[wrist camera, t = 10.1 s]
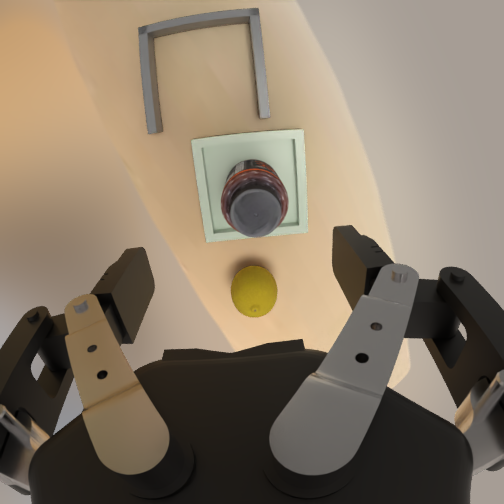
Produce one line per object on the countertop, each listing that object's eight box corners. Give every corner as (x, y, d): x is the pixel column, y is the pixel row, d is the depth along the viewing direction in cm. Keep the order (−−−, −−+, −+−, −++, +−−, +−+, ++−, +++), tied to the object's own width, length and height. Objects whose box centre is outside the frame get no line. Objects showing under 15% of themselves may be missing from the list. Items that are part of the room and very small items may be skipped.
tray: (194, 138, 31) (190, 140, 29) (300, 128, 30) (303, 129, 29) (208, 235, 36) (206, 242, 34) (304, 226, 36) (308, 232, 34)
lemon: (255, 247, 37) (258, 280, 29) (282, 275, 39) (290, 311, 31) (223, 272, 38) (219, 309, 31) (250, 298, 40) (252, 337, 33)
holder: (145, 33, 24) (138, 27, 22) (257, 15, 24) (258, 8, 22) (154, 133, 30) (148, 134, 28) (268, 117, 30) (270, 117, 28)
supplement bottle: (288, 178, 32) (310, 207, 22) (258, 218, 34) (264, 263, 24) (246, 147, 31) (247, 161, 20) (215, 190, 33) (202, 224, 22)
